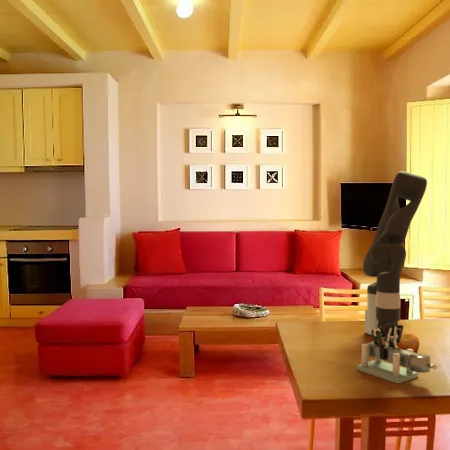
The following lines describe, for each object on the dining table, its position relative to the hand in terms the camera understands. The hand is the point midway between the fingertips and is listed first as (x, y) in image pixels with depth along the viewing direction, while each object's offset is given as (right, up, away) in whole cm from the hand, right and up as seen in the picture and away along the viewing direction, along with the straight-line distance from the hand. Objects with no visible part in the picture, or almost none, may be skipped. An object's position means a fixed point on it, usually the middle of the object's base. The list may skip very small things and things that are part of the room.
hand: (387, 357), depth 162 cm
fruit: (+14, -4, +21) cm, 26 cm away
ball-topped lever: (+3, -1, -4) cm, 5 cm away
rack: (0, -5, 0) cm, 5 cm away
